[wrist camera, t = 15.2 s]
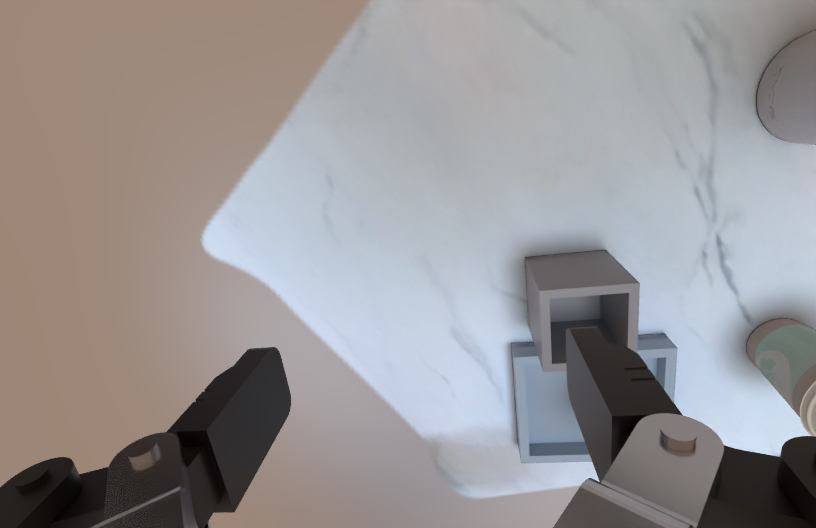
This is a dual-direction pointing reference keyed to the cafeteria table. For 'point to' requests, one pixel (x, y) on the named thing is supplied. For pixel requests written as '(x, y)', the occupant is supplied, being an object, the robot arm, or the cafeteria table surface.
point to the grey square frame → (579, 302)
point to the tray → (568, 401)
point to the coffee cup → (788, 364)
